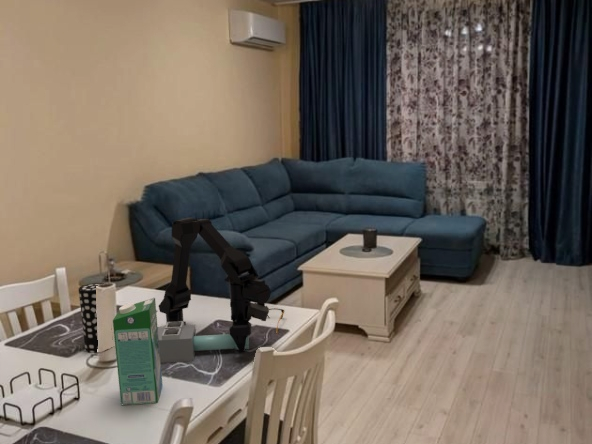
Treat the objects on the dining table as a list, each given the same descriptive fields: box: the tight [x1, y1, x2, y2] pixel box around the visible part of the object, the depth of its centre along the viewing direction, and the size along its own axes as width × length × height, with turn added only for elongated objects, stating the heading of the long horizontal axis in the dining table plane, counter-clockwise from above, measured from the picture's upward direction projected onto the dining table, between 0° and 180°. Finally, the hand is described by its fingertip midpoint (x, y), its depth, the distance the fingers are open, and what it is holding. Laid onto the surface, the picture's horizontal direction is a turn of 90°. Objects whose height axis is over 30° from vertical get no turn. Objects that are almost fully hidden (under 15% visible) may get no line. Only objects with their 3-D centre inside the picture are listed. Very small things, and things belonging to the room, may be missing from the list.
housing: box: [158, 320, 197, 364], centre depth 171 cm, size 11×12×8 cm
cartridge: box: [193, 333, 250, 352], centre depth 172 cm, size 20×5×5 cm, turn 94°
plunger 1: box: [169, 321, 180, 327], centre depth 173 cm, size 3×3×2 cm
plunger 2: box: [166, 328, 177, 335], centre depth 167 cm, size 3×3×2 cm
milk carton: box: [112, 297, 163, 406], centre depth 145 cm, size 9×9×25 cm
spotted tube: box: [78, 282, 105, 354], centre depth 177 cm, size 8×8×20 cm
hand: (242, 346), depth 173 cm, fingers open, 9 cm apart
